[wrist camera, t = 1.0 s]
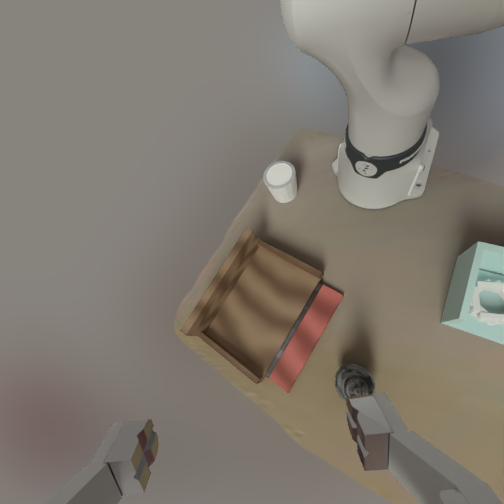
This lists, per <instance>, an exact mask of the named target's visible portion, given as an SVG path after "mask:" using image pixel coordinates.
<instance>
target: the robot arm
mask: <svg viewBox="0 0 504 504" xmlns="http://www.w3.org/2000/svg"><path fill="white" fill-rule="evenodd" d="M280 2H281V12H282V18H283V21H284V25H285V28H286V30H287V33H288V35H289V37H290V38H291V40H292V42H293V43H294V45H295V46H296V47H297V48H298V49H299V50H300V51H301V52H302V53H305V54H307V55H309V56H311V57H313V58H315V59H316V60H318V61H319V62H321V63H322V64H323V65H325V66H326V67H327V68H328V69H329V70H330V71H331V72H332V73H333V74H334V75H335V76H336V78H337V79H338V80H339V82H340V83H341V85H342V87H343V88H344V91H345V93H346V96H347V103H348V119H349V123H348V125H347V128H346V133H345V140H344V142H343V143H341V144H340V146H339V152H338V158H337V159H336V160H335V161H334V162H333V164H332V170H333V172H334V173H335V175H336V176H337V178H338V185H339V189H340V191H341V193H342V195H343V196H344V197H345V198H346V199H347V200H348V201H349V202H351V203H353V204H354V205H357V206H359V207H363V208H368V209H379V208H385V207H389V206H392V205H394V204H396V203H398V202H400V201H402V200H405V199H412V198H417V197H420V196H422V195H423V193H424V190H425V186H426V182H427V178H428V175H429V171H430V167H431V164H432V160H433V156H434V153H435V149H436V145H437V141H438V138H439V132H438V131H437V130H436V129H434V128H433V127H432V120H431V118H430V117H429V116H430V114H431V111H432V109H433V106H434V104H435V101H436V99H437V96H438V93H439V88H440V76H439V73H438V70H437V68H436V66H435V65H434V64H433V62H432V61H431V60H430V59H429V57H428V56H427V55H425V54H424V53H423V52H421V51H419V50H416V49H414V48H411V47H409V46H407V44H414V43H421V42H427V41H434V40H440V39H447V38H453V37H459V36H467V35H473V34H479V33H483V32H486V31H489V30H493V29H496V28H499V27H502V26H504V0H281V1H280ZM416 185H420V186H416ZM346 405H347V407H348V411H347V422H348V427H349V430H350V434H351V436H352V439H353V440H354V441H355V442H356V443H357V452H358V455H359V457H360V460H361V463H362V465H363V468H364V470H365V471H370V470H385V469H388V471H389V472H390V473H391V474H392V475H393V476H394V477H395V478H396V479H397V480H398V481H399V482H400V483H401V484H402V485H403V486H404V487H405V488H406V489H407V490H408V491H409V492H410V493H411V495H412V496H413V497H414V498H415V499H416V500H417V501H418V502H419V503H420V504H502V502H501V501H500V500H499V498H498V497H497V496H496V494H495V493H494V492H493V490H492V489H491V488H490V486H489V485H488V484H486V483H485V482H484V481H482V480H481V479H479V478H478V477H477V476H475V475H474V474H472V473H471V472H470V471H468V470H467V469H465V468H464V467H463V466H461V465H460V464H458V463H457V462H456V461H454V460H453V459H451V458H450V457H449V456H447V455H446V454H444V453H443V452H442V451H440V450H439V449H437V448H436V447H435V446H433V445H432V444H430V443H429V442H428V441H426V440H425V439H423V438H422V437H420V436H419V435H418V434H416V433H415V432H413V431H408V429H407V427H406V426H405V424H404V423H403V421H402V419H401V418H400V416H399V414H398V413H397V411H396V409H395V408H394V406H393V405H392V403H391V401H390V400H389V398H388V396H387V395H386V394H385V393H378V394H368V395H360V396H352V397H347V398H346ZM153 426H154V425H153V422H152V420H149V419H148V420H137V421H125V422H115V423H114V424H113V425H111V427H110V429H109V431H108V432H107V434H106V436H105V438H104V440H103V441H102V443H101V445H100V447H99V449H98V451H97V453H96V454H95V456H94V458H93V460H92V462H91V463H90V465H86V466H85V467H84V468H83V469H82V470H81V471H79V472H78V473H77V474H76V475H75V476H74V477H73V478H72V479H71V480H70V481H69V482H67V483H66V484H65V485H64V486H63V487H62V488H61V489H60V490H59V491H58V492H57V493H55V494H54V495H53V496H52V497H51V498H50V499H49V500H48V501H47V502H46V503H45V504H118V502H119V501H120V500H121V499H122V496H126V495H133V494H141V493H144V492H145V489H146V486H147V483H148V480H149V477H150V474H151V472H150V469H149V466H150V465H151V464H152V463H153V462H154V461H155V458H156V455H157V451H158V437H157V434H156V432H154V431H153V430H152V428H153Z"/></svg>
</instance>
